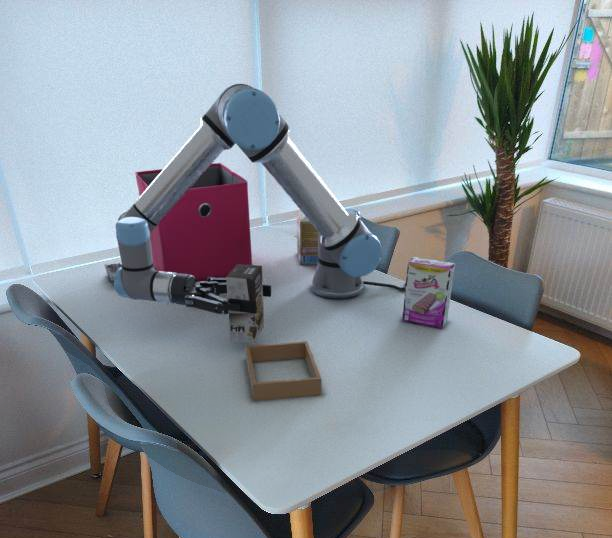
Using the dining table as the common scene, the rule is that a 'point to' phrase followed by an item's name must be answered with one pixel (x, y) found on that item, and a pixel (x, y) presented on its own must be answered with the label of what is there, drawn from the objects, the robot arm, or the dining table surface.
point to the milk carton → (306, 240)
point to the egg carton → (112, 270)
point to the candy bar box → (428, 292)
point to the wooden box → (283, 386)
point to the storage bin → (203, 226)
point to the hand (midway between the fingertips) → (263, 299)
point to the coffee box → (245, 286)
